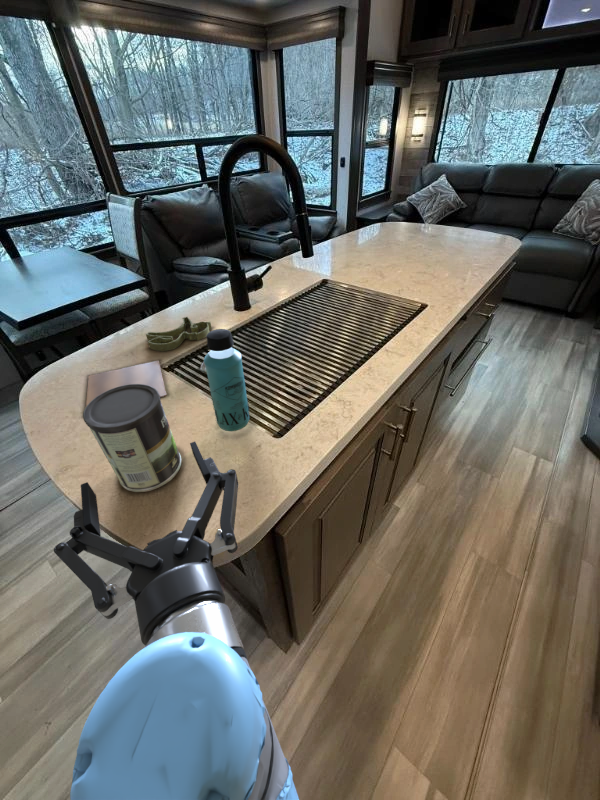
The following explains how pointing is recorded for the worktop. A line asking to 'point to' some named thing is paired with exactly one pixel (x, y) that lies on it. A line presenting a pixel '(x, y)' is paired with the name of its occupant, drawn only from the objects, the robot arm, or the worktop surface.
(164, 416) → the coffee can
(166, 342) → the cookie cutter
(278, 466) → the worktop surface
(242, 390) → the beverage bottle
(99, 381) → the cork mat
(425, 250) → the worktop surface
